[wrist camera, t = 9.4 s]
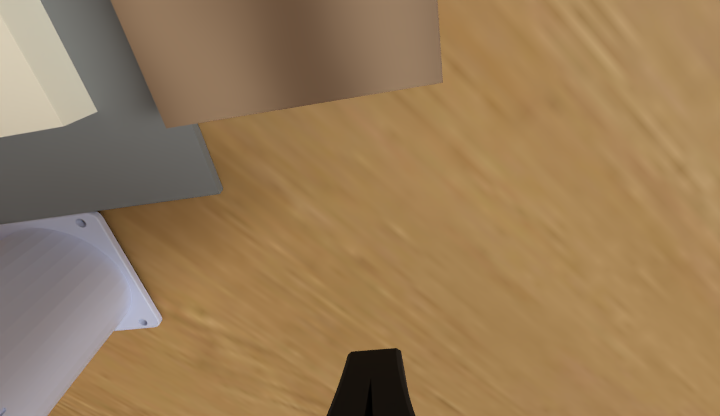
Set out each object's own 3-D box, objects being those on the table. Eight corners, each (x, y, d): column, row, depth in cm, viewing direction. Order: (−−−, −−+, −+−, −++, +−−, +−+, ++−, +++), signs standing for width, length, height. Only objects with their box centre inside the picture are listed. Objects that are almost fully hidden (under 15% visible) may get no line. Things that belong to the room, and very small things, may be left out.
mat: (-1, 220, 20) (-9, 225, 20) (-310, -194, 12) (-335, -200, 12) (223, 189, 19) (219, 193, 18) (28, -309, 11) (13, -322, 10)
